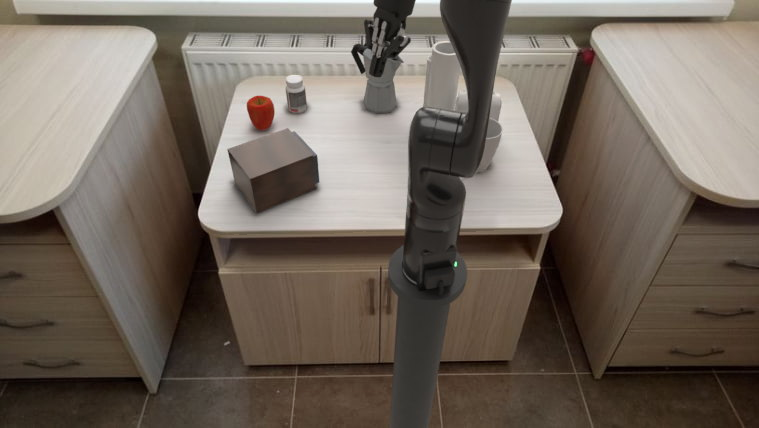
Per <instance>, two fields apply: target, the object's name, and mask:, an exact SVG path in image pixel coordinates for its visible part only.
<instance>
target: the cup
mask: <svg viewBox="0 0 759 428" xmlns="http://www.w3.org/2000/svg"><path fill="white" fill-rule="evenodd" d="M503 131H504V128H503V126H502V124H501V122H499V121H496V120H494V119H492V118H489V123H488V130H487V137H486V143H485V149H484V154H483V158H482V162H481V165H480V167H479V170H478V171H477V173H479V172H484V171H485V170H487V169H488V168H489V166H490V164H491V163H492V161H493V160H494V157H495V155H496V152H497V150H498V148H499V144H500V142H501V138H502V135H503Z"/></svg>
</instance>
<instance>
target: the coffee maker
mask: <svg viewBox="0 0 759 428" xmlns="http://www.w3.org/2000/svg"><path fill="white" fill-rule="evenodd" d="M386 48H387V47H386ZM350 54H351V55H352V58H353V60H354V62H355V64H356V66H357V68H358V71H359V72H360V74H361V75H363V74H364V73H365V78H367V80H366V85H365V91H364V96H363V105H364V109H365V111H368V112H370V113H373V114H376V115H381V114H382V115H383V114H390V113H391V112H393V111H394V110H395V109H397V107H398V102H397V95H396V89H395V81H394V79H395V76H396V73H397V71H398V69H399V68H400V66H401V65H402V64H404V63H405V61H404V60H403V59H402V58H401V57H400V54H399V55H398V56H397V57H396V58H395V59H387V61H386V64H385V68H384V72H383V74H382V76H381V77H380V78H379V77H373V76H371V75H370V74H369V68H370V64H371V60H372V56H373V55H372V51H371V50H370V49H368V48H367V42H365V43H363V44H361V43H355V44H353V47H352V48H351V51H350ZM360 55H361V56H362V58H363V62H362V59H361V56H360Z"/></svg>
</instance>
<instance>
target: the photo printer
mask: <svg viewBox="0 0 759 428" xmlns="http://www.w3.org/2000/svg"><path fill="white" fill-rule="evenodd" d="M501 109H502V97H501V94H500V93H499V92H496V91H493V95H492V102H491V109H490V116H489V118H492V119H494V120H496V121H498V122H499V120H500V115H501ZM455 111H458V112H462V113H463V112H464V113H467V112H468V97H467V89H466V90H461V91H459V92H458V94H457V96H456V104H455Z"/></svg>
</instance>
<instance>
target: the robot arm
mask: <svg viewBox="0 0 759 428" xmlns="http://www.w3.org/2000/svg"><path fill="white" fill-rule="evenodd" d="M512 1H513V0H439V14H440V17H441V21H442V25H443V27H444V30H445V32H446V35H447V37H448V40H449V41H450V42H451V44H452V47H453V49H454V51H455V54H456V56H457V58H458V61H459V64H460V71H461V73H462V76H463V80H464V85H465V88H466V90H467V97H468V112H467V113H464V112H463V113H462V112H458V111H452V110H446V109H440V108H434V107H423V106H421V107H420V108H418V110H417V111H416V112H415V113H414V115H413V118H412V119H411V122H410V126H409V132H408V140H407V193H406V208H405V223H404V237H403V245H404V249H403V261H402V272H403V275H404V277H405V278H406V279H407V280H408V281H409V282H410V283H411V284H413V285H415V286H416V287H417V289H418V291H424V290H429V289H436V288H439V292H437V295H438V296H440V295H442V294H443V291H444V287H445V286H450V285H453V283H454V277H455V271H454V268H455V266H456V257H457V252H458V244H459V239H460V232H461V228H462V221H463V216H464V209H465V205H466V204H465V203H466V199H467V189H466V186H465V183H464V182H463V180H462V179H461V178H463V179H471V178H473V177H475V176H476V174H477V173H478V172H477V171H478V170H479V167H480V165H481V162H482V158H483V154H484V149H485V143H486V137H487V130H488V123H489V116H490V109H491V102H492V95H493V92H494V87H495V82H496V81H495V80H496V75H497V69H498V63H499V58H500V54H501V50H502V45H503V40H504V38H505V32H506V28H507V24H508V20H509V15H510V10H511V6H512ZM416 2H417V1H416V0H373V2H372V3H373V5H374V6H375V7H376V9H375V11H374V13H373V16H372V18H370V19H366V18H365V20H364V21H363V26H364V31H365V32H364V34H365V40H366V43H367V48H368V49H370V50H371V51H372V55H373V56H372V60H371V64H370V68H369V74H370V75H371V76H373V77H379V78H380V77H381V76H382V74H383V72H384V68H385V64H386V61H387V59H395V58H396V57H397V56H398V55H399V56H400V54H401V53H402V52H403V51H404V50H405V49H406V48H407V47H408V46H409V45H410V44H411V41H412V38H411V37H410V36H407V34H406V31H405V30H406V27H407V18H408V17H410V16H411V15H412V14H413V12H414V8H415V4H416ZM386 47H387V48H386Z"/></svg>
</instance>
